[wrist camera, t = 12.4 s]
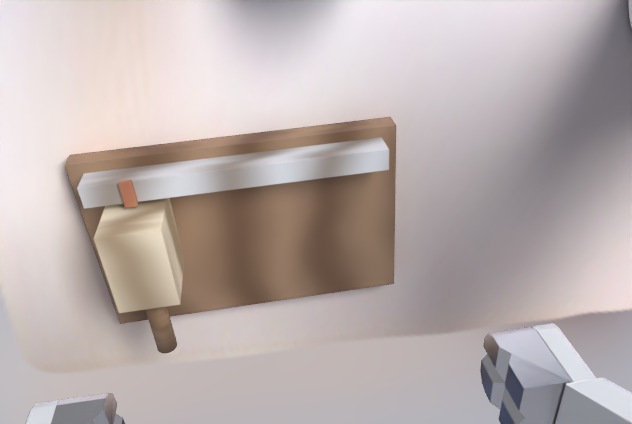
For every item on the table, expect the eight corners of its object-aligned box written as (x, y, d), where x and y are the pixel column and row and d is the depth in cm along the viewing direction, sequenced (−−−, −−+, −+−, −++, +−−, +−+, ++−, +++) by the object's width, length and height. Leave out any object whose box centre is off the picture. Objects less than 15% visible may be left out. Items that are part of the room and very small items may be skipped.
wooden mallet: (167, 189, 38) (160, 230, 33) (196, 309, 44) (193, 357, 39) (107, 197, 37) (93, 239, 33) (145, 317, 43) (136, 365, 39)
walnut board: (390, 117, 39) (405, 139, 36) (389, 272, 46) (401, 302, 43) (70, 155, 37) (55, 182, 34) (122, 310, 44) (115, 344, 41)
